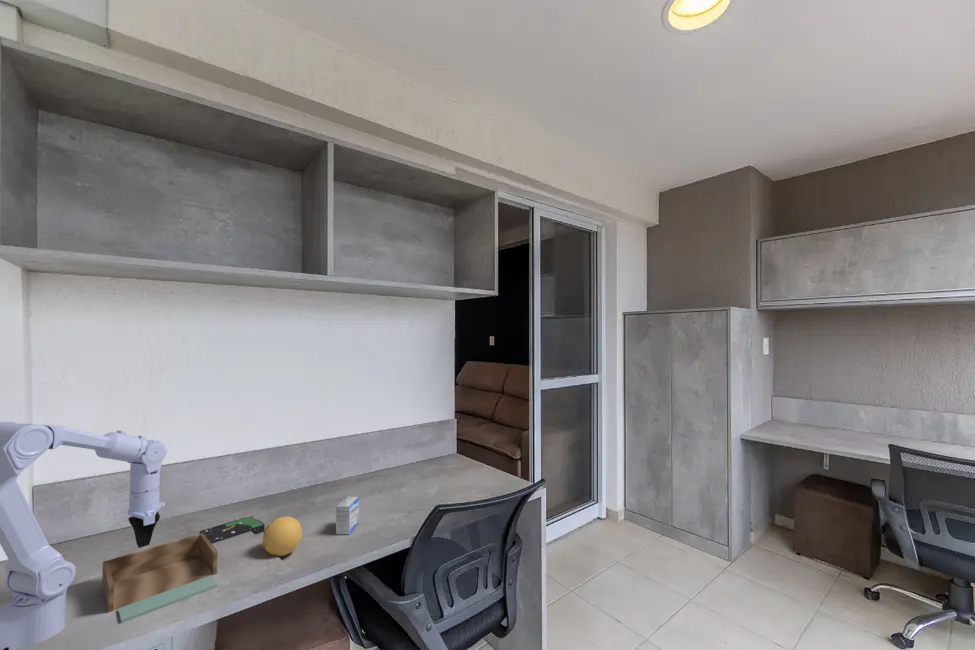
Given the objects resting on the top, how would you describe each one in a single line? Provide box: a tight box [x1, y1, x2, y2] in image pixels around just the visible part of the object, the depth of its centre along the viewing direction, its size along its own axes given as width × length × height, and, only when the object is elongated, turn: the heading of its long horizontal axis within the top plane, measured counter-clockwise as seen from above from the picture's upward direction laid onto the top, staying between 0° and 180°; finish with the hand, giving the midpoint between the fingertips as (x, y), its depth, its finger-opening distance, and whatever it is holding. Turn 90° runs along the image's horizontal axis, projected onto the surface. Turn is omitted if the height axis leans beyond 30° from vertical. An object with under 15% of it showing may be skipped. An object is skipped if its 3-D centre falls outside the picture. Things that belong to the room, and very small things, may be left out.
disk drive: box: [198, 515, 266, 545], centre depth 126 cm, size 10×3×15 cm
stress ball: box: [261, 516, 303, 558], centre depth 115 cm, size 10×10×10 cm
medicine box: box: [335, 496, 360, 535], centre depth 131 cm, size 8×4×9 cm, turn 177°
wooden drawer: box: [101, 532, 218, 613], centre depth 101 cm, size 20×14×7 cm
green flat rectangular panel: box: [117, 575, 218, 624], centre depth 93 cm, size 17×2×6 cm
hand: (143, 545), depth 101 cm, fingers closed
